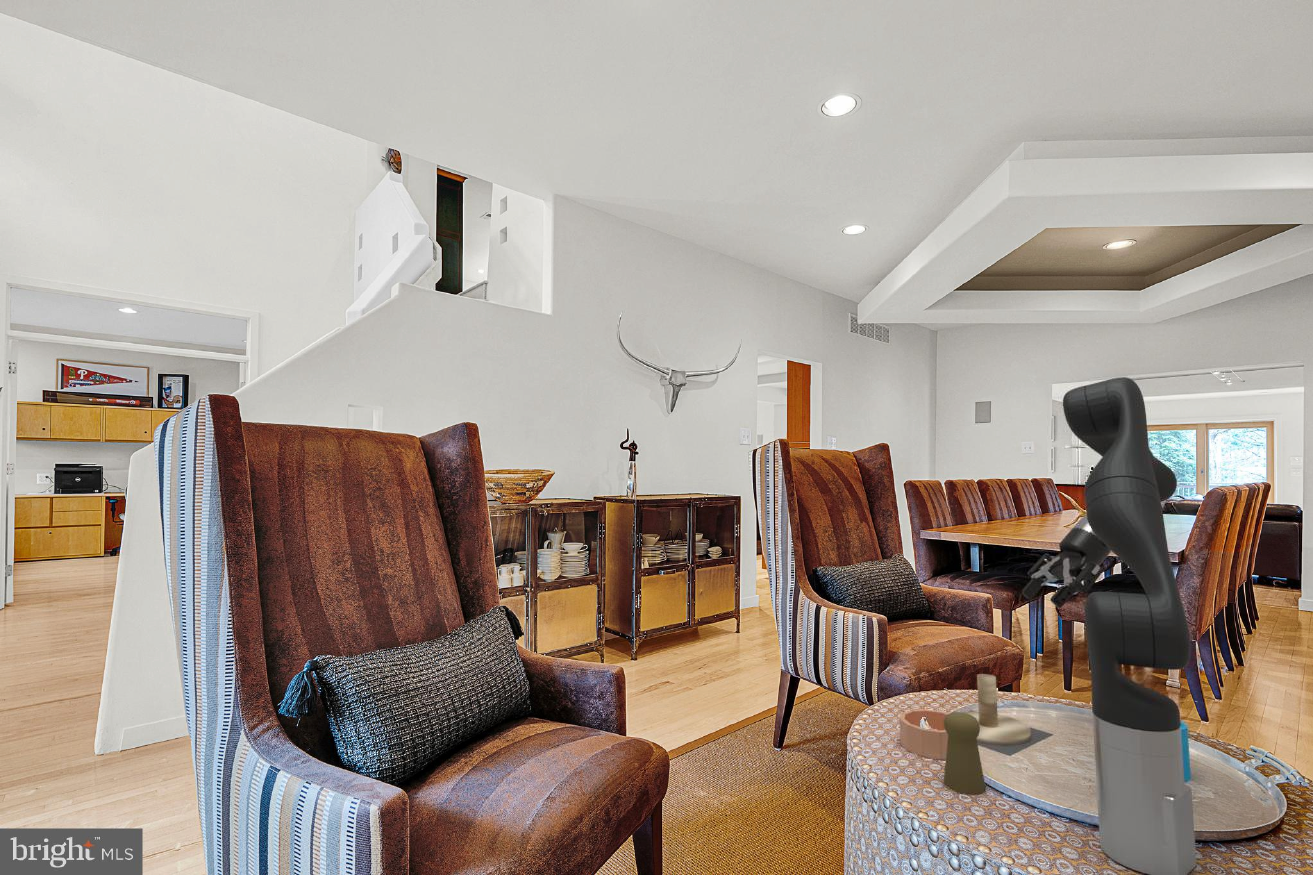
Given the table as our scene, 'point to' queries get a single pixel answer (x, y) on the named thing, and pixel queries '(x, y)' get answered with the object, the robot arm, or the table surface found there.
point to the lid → (996, 718)
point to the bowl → (924, 733)
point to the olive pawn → (963, 754)
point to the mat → (1010, 750)
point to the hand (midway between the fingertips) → (1039, 599)
